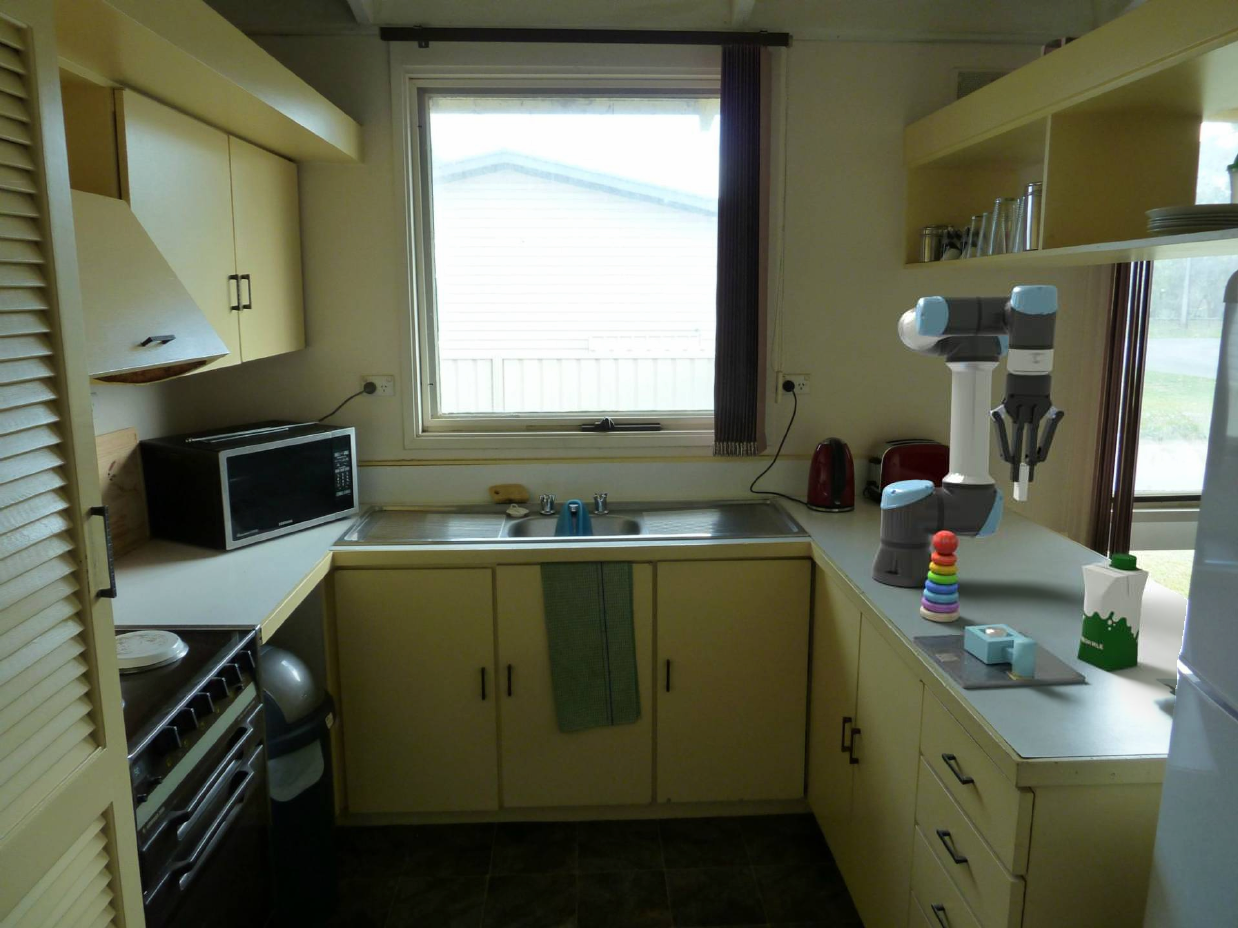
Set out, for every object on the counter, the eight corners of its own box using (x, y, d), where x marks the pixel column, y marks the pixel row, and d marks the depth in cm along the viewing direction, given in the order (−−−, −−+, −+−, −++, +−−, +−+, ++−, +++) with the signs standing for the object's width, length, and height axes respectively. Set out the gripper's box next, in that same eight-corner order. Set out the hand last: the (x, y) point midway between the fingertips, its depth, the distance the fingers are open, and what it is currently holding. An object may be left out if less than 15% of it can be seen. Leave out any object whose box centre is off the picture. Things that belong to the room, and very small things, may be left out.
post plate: (913, 641, 180) (914, 612, 179) (1020, 636, 182) (1022, 607, 181) (963, 688, 158) (965, 655, 157) (1085, 682, 160) (1087, 649, 159)
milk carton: (1145, 667, 166) (1155, 561, 163) (1108, 674, 163) (1117, 567, 160) (1105, 650, 174) (1113, 548, 171) (1068, 657, 171) (1076, 554, 168)
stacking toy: (921, 621, 191) (925, 534, 187) (918, 609, 198) (922, 525, 195) (961, 624, 189) (966, 536, 186) (956, 611, 197) (961, 526, 193)
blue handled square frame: (1008, 679, 159) (1010, 646, 158) (963, 647, 173) (965, 617, 172) (1049, 675, 160) (1052, 643, 159) (1001, 644, 174) (1003, 614, 173)
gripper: (998, 374, 162) (990, 503, 167) (1074, 374, 161) (1064, 504, 166) (985, 370, 170) (977, 494, 175) (1058, 369, 169) (1048, 494, 173)
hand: (1020, 498), depth 170 cm, fingers closed
